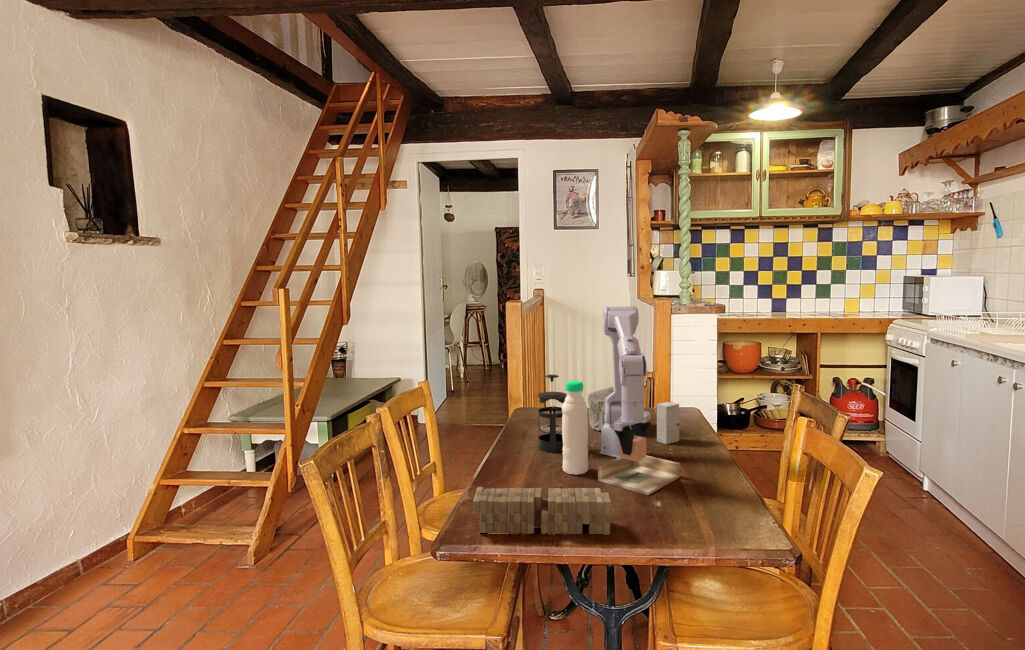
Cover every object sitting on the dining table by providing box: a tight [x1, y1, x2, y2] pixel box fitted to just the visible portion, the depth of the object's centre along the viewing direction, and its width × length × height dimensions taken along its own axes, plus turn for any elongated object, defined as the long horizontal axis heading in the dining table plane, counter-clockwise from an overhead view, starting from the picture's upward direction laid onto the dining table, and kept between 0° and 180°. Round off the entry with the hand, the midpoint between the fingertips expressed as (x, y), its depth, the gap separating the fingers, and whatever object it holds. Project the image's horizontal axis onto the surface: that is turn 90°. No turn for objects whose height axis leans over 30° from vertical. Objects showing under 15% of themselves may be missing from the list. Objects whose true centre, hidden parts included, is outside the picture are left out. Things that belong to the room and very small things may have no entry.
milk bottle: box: [561, 380, 589, 476], centre depth 164 cm, size 7×7×25 cm
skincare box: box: [656, 401, 680, 445], centre depth 189 cm, size 6×4×12 cm
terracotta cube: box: [619, 435, 647, 461], centre depth 157 cm, size 5×5×5 cm
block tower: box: [472, 486, 612, 536], centre depth 131 cm, size 8×8×29 cm
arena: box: [597, 454, 681, 496], centre depth 158 cm, size 15×16×4 cm
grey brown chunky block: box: [587, 386, 622, 432], centre depth 205 cm, size 19×17×15 cm
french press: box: [537, 374, 568, 453], centre depth 185 cm, size 12×9×23 cm
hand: (632, 451), depth 157 cm, fingers closed on terracotta cube, 5 cm apart
